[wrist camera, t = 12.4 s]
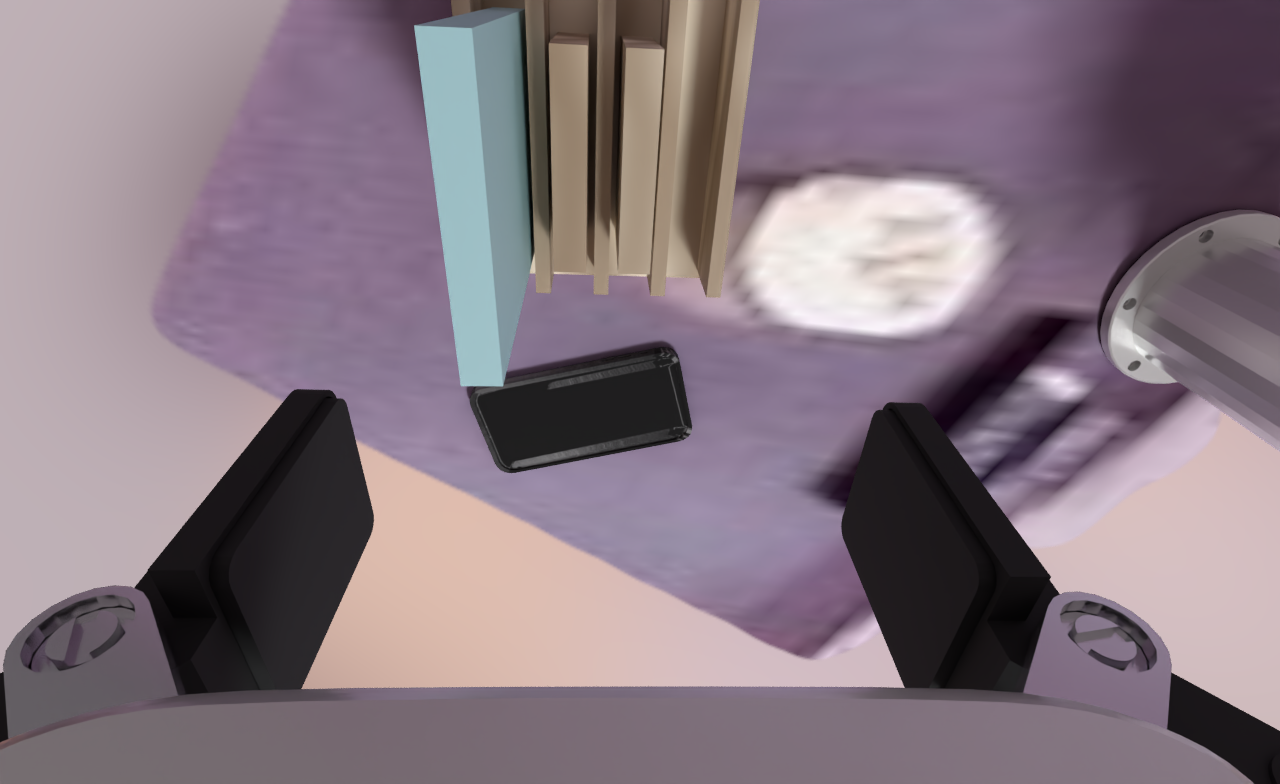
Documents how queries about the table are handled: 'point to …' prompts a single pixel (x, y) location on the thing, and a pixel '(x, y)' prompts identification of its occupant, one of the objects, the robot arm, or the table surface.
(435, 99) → the tall sheet
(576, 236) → the offcut
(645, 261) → the offcut
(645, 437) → the phone
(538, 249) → the rack
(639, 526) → the table surface
